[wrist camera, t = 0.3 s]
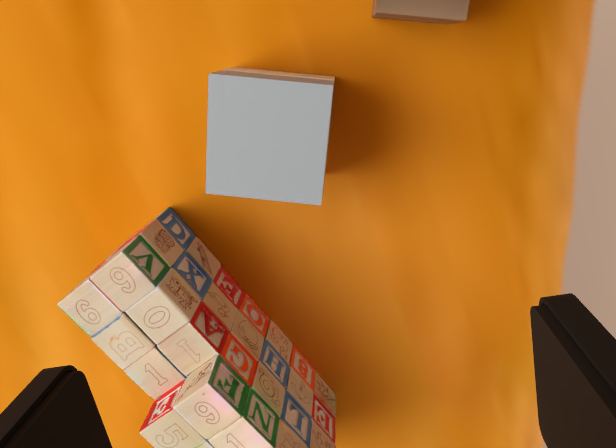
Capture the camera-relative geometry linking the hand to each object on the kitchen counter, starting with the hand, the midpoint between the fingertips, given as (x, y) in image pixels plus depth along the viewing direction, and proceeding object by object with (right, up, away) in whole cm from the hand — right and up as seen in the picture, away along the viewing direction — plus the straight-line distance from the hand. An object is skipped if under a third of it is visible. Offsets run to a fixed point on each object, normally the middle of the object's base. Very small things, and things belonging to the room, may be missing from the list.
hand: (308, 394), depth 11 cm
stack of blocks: (-6, -5, +33) cm, 34 cm away
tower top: (-2, +10, +24) cm, 26 cm away
